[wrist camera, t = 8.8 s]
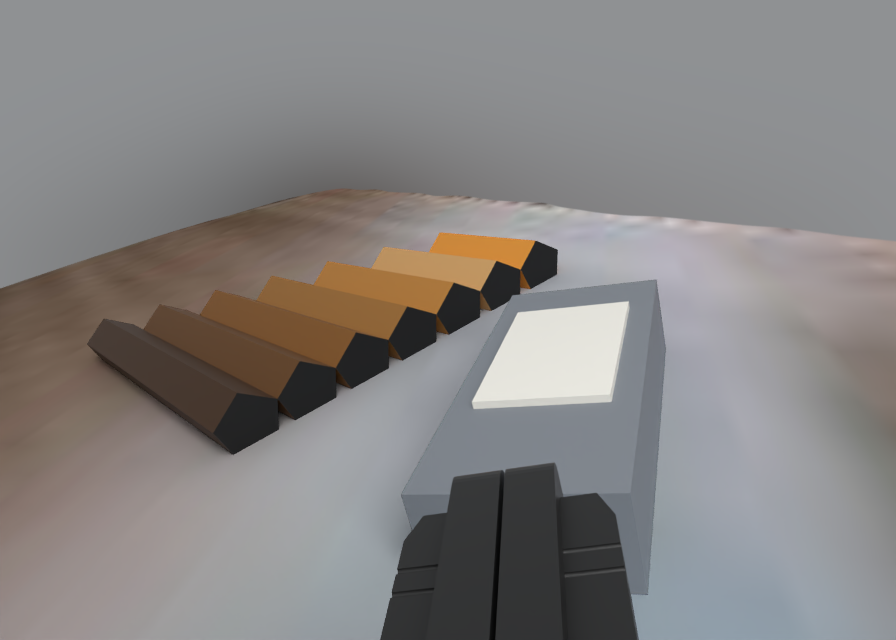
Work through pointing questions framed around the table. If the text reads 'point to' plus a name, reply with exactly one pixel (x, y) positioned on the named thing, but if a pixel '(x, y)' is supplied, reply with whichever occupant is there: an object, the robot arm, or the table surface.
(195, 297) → the table surface
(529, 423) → the slate block
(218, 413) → the pan flute
